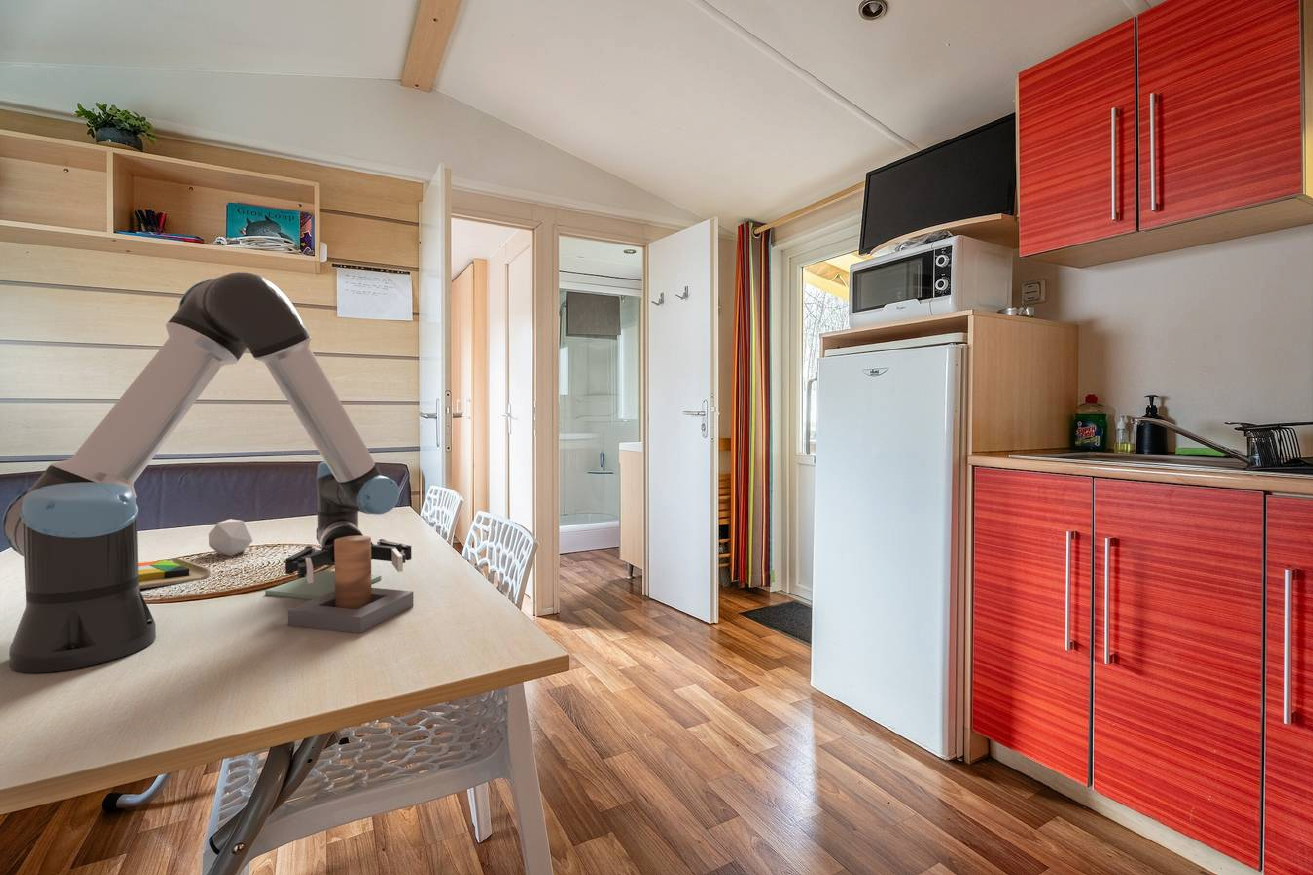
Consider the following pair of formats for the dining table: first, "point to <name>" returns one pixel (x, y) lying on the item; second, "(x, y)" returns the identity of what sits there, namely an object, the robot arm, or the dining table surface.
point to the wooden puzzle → (170, 572)
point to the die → (230, 537)
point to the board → (310, 586)
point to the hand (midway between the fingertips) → (357, 569)
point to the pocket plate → (350, 611)
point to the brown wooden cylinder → (352, 572)
